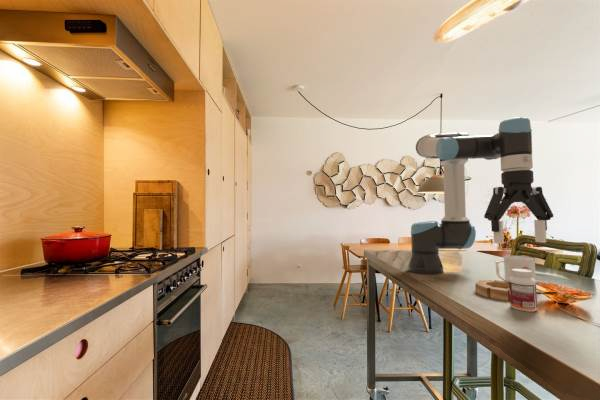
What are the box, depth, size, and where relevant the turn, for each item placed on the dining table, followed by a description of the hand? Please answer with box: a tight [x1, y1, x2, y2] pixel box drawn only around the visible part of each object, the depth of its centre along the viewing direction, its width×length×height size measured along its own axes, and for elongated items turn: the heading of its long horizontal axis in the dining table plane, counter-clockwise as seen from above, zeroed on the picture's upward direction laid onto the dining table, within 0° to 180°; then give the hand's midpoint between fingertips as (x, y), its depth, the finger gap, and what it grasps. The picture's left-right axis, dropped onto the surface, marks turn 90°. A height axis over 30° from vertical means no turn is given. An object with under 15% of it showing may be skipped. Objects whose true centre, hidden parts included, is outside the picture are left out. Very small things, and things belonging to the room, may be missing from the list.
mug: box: [494, 255, 537, 282], centre depth 103 cm, size 12×9×11 cm
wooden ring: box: [474, 279, 510, 302], centre depth 95 cm, size 14×14×3 cm
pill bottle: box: [509, 269, 538, 313], centre depth 82 cm, size 6×6×11 cm
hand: (520, 242), depth 83 cm, fingers open, 13 cm apart
